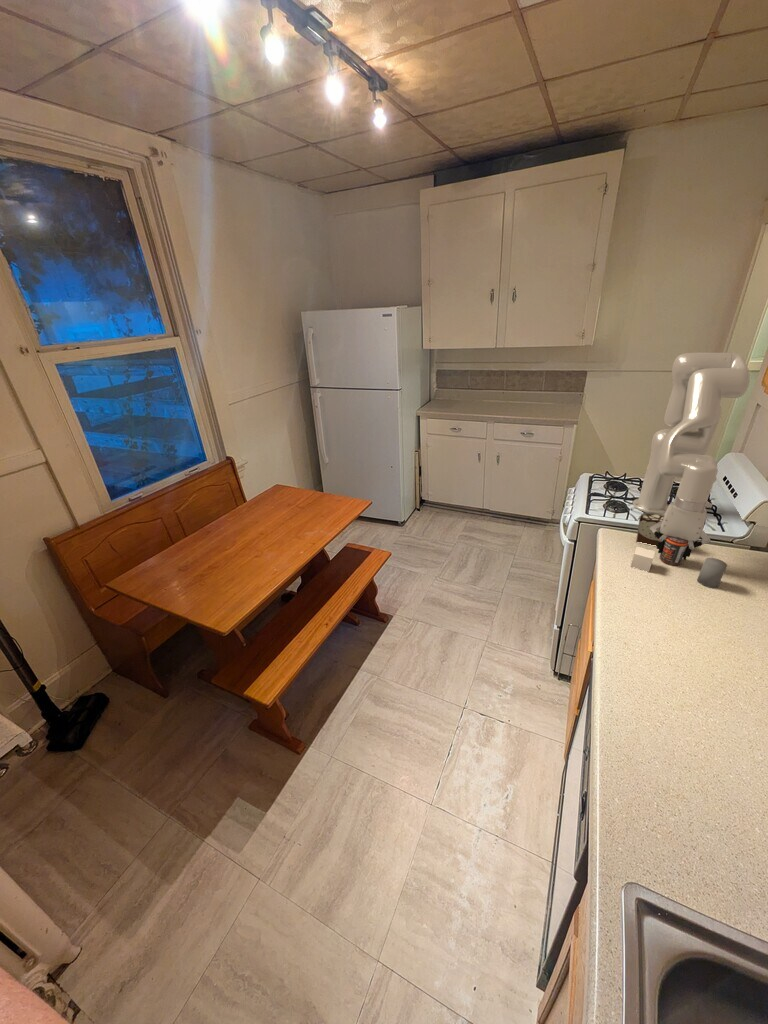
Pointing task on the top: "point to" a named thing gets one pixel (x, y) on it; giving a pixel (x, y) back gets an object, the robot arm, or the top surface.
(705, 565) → the gray cylinder
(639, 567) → the off-white block
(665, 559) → the supplement bottle
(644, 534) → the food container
